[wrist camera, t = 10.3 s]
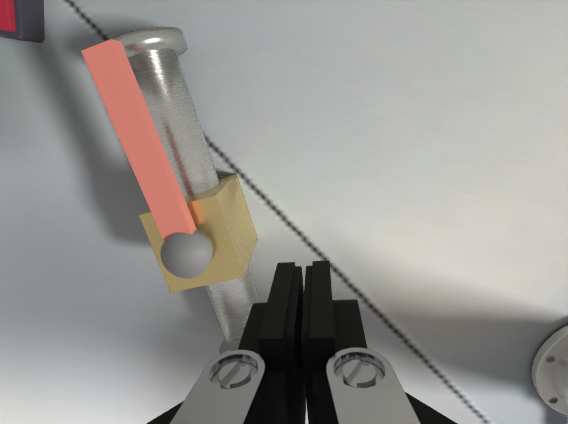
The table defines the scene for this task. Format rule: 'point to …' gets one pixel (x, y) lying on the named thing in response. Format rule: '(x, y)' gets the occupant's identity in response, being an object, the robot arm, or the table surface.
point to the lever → (148, 160)
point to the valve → (195, 181)
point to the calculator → (22, 19)
